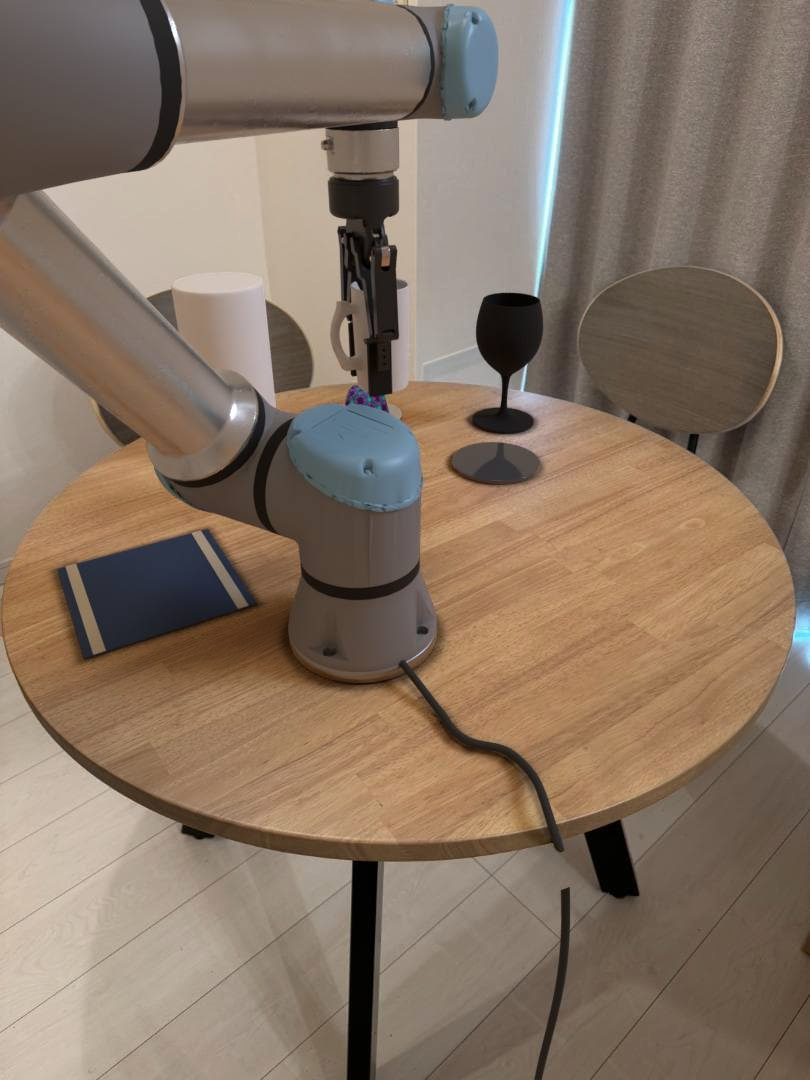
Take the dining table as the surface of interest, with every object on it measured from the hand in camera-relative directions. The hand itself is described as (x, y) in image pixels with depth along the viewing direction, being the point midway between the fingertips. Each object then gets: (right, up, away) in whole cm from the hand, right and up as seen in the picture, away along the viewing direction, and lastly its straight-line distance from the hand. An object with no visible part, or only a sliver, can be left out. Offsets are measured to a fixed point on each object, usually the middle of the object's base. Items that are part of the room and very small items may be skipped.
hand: (370, 383), depth 90 cm
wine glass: (+20, +1, +33) cm, 39 cm away
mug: (0, -1, 0) cm, 1 cm away
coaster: (+18, -8, +20) cm, 28 cm away
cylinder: (-22, -5, +25) cm, 34 cm away
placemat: (-24, -24, -6) cm, 35 cm away
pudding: (-2, +1, +35) cm, 35 cm away
